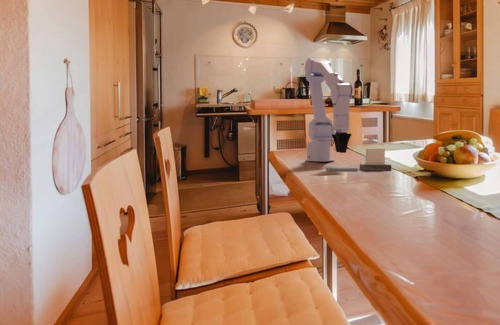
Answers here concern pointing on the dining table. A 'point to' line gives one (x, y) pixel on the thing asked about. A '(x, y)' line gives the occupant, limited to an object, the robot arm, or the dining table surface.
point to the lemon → (421, 154)
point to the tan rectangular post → (375, 156)
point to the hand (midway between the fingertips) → (341, 152)
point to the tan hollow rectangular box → (375, 167)
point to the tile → (341, 168)
